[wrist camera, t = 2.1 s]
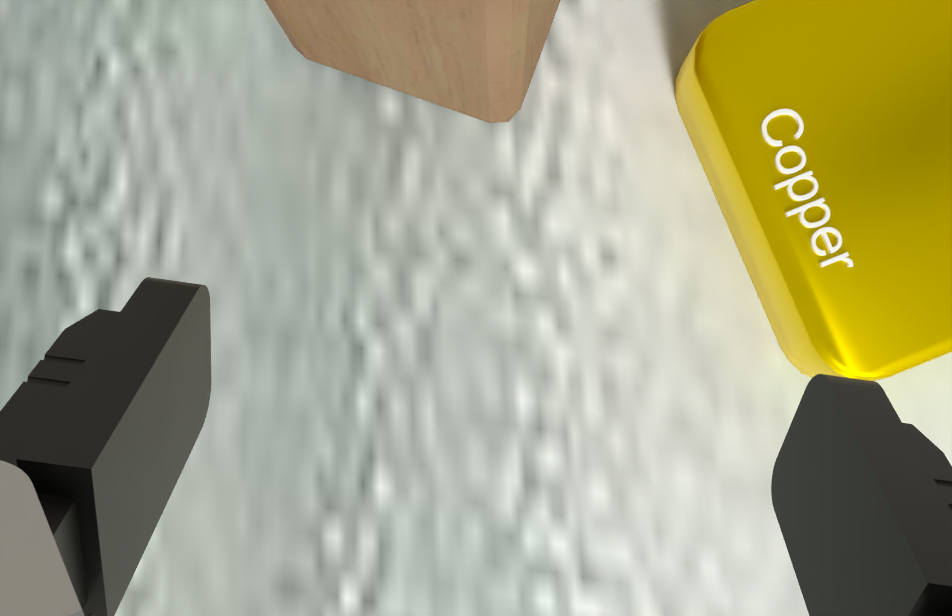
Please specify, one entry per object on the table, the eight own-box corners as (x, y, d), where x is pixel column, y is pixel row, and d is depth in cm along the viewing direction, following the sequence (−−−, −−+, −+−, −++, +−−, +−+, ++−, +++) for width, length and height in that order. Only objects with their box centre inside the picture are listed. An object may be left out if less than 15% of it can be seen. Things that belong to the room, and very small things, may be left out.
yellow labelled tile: (656, 68, 39) (678, 23, 34) (983, -64, 39) (1051, -126, 34) (798, 397, 37) (842, 400, 33) (1135, 261, 37) (1228, 243, 33)
